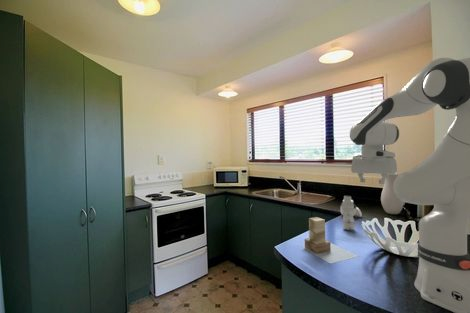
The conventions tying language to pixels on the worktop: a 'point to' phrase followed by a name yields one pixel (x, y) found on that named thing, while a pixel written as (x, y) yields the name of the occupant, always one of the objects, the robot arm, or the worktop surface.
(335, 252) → the pale flat sheet
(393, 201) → the vase
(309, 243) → the walnut plinth
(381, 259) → the worktop surface
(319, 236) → the birch column
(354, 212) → the pale grey lumpy piece
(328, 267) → the worktop surface
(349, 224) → the grey statuette
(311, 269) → the worktop surface
